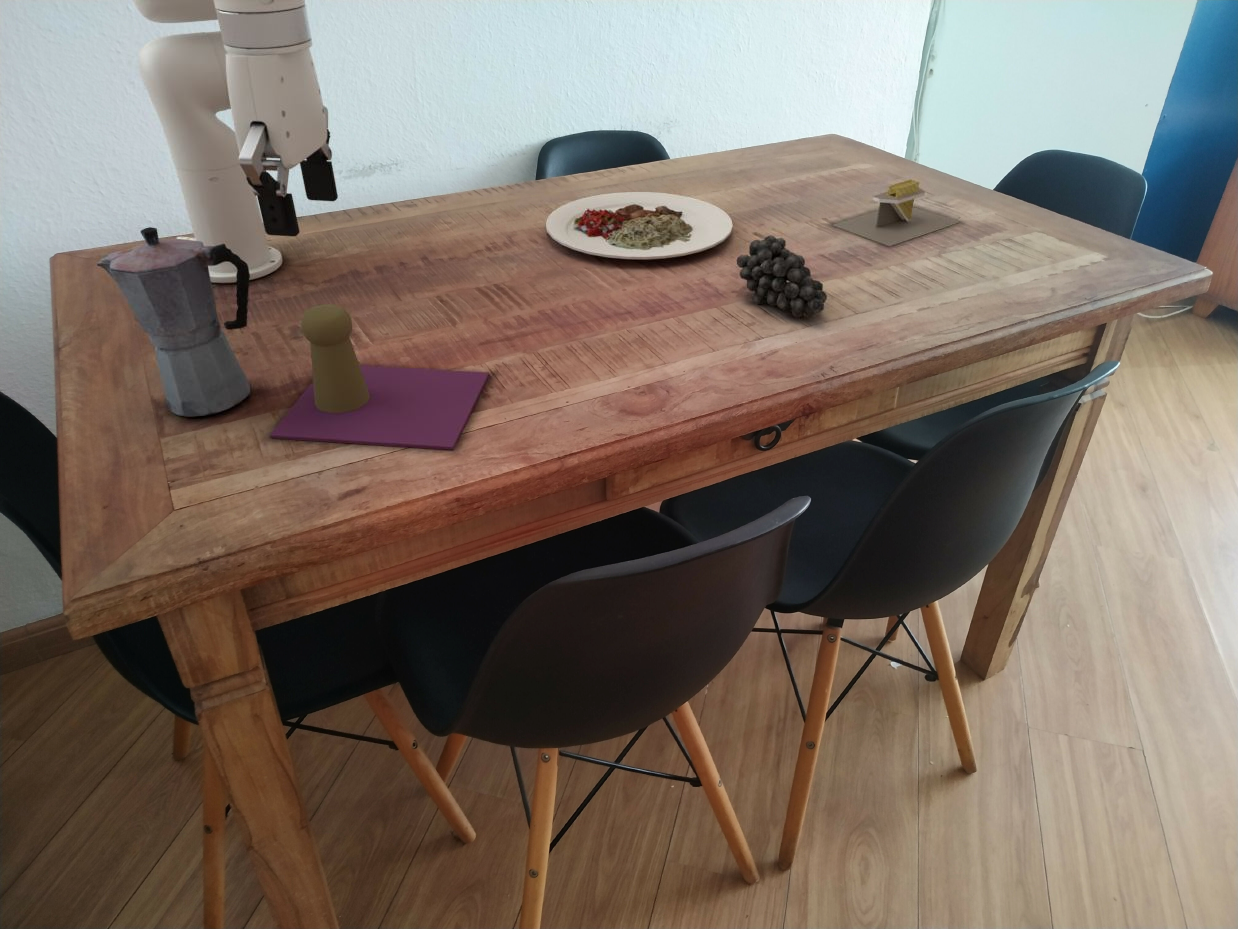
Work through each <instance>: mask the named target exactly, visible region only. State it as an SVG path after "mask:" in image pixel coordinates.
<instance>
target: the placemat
mask: <svg viewBox="0 0 1238 929" xmlns="http://www.w3.org/2000/svg"><path fill="white" fill-rule="evenodd" d="M359 365H360V368H361V371H362V374H363V377H364V380H365V382H366V385H367V388H368V391H369V395H370V398H369V400H368V402H367V403H365V404H364V405H363V406H362V407H360V408H358V409H355V410H352V411H349V412H343V413H328V412H324V411H321V410H319V409H318V408H317V407H316V406H315V398H314V384H313V381H311V383H310V384H309V385H308V387H307V388H306V389H305V390H304V391H303V393H302V394H301V396H299V398H298V399H297V400H296V402H294V404H293V405H292V406H291V408H290V409H289V410H288V411H287V412H286V414H285V415H284V416H283V418H282V419H281V420H280V422H278V424H277V425H276V426H275V428H274V429H273V430H272V431H271V433H270V434H269V438H270V439H278V440H294V441H306V442H307V441H309V442H323V443H339V444H355V445H356V444H357V445H369V446H387V447H400V448H401V447H402V448H418V449H433V450H446V451H454V449H455V447H456V445H457V444H458V441H459V439H460V437H461V436H462V433H463V431H464V429H465V426H466V424H467V422H468V421H469V418H470V416H471V414H472V412H473V410H474V408H475V406H476V404H477V402H478V400H479V398H480V396H481V393H482V392H483V390H484V388H485V385H486V384H487V381H488V379H489V377H490V372H485V371H484V372H483V371H469V370H468V371H466V370H451V369H450V370H449V369H434V368H433V369H430V368H413V367H395V366H379V365H378V366H376V365H361V364H359Z"/></svg>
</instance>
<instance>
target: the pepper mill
mask: <svg viewBox="0 0 1238 929" xmlns="http://www.w3.org/2000/svg"><path fill="white" fill-rule="evenodd" d="M300 323H301V325H300V328H301V331H302V334H303V336H304V337H305V339H306V340H307V341H308V342H309V344H310V356H311V368H312V369H311V370H312V382H313V384H314V398H315V406H316V407H317V408H318V409H319V410H321V411H324V412H328V413H343V412H349V411H352V410H355V409H358V408H360V407H362V406H363V405H364V404H365V403H367V402H368V400H369V398H370V395H369V391H368V388H367V385H366V382H365V380H364V377H363V374H362V371H361V368H360V365H361V364H360V363H359V359H358V357H357V354H356V351H355V348H354V345H353V343H352V340H351V337H350V335H351V334H352V332H353V331H352V330H353V321H352V317H351V315H350V313H349V312H348V311H347V309H345V308H344V307H343V306H340V305H337V304H329V303H328V304H327V303H326V304H320V305H316V306H313V307H310V308H309V309H308V310H306V311H305V312H304V313H303V315H302V317H301V321H300Z"/></svg>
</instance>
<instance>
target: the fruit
mask: <svg viewBox="0 0 1238 929" xmlns="http://www.w3.org/2000/svg"><path fill="white" fill-rule="evenodd" d="M786 246H787V243H786V239H784V238H782V237H779V238H776V237H775V235H767V236H766V237H764V239H762V240H760V239H755V240H753V241H751V242H750V243H749V249H748V251H749V252H748V254H740V255H739V256H738V257H736V265H737V266H738V267H739V268H741V270H740V271H739V277H740V279H742V280H745V281H746V288H747V289H748V290H749V291H750V292H753V294H752V296H751V297H752V301H753V303H756V304H757V305H761V304H764V303H765V302H766V303H767V304H768V305H769V306H777V307H778V308H779V309H780V310H787V309H789V308H790V310H791V313H792V316H793V317H795V318H797V319H798V318H799V319H800V318H802V317H803V316H804V317H805V318H806V319H812V318H814V317H816V316H817V315H818V314H820V313H822V312H823V311H824V310H825V303H826V301H827V298H828V295H827V293H826V292H825V291H824V284H823V283H822V282H820V280H816V279H813V278H812V274H811V270H810V268H808V267H807V266H805V265H806V260H805V258H804V257H803V255H800V254H796V253H795V252H793V251H791V250H789V249H787V248H786Z"/></svg>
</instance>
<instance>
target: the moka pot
mask: <svg viewBox="0 0 1238 929" xmlns="http://www.w3.org/2000/svg"><path fill="white" fill-rule="evenodd" d="M140 234H141V235H142V237H143V239H144V241H145V242H144V243H140V244H137V245H135V246H133V247H130V248H127V249H125V250H117V251H115V252H112V253H108V254H106V256H104V257H103V258H101V259H100V260H99V261H97V263H96V266H97V267H100V268H102V269H104V270H105V271H106V273H107V274H109V276H110V277H111V278H112V279H113V281H115V282H116V284H117V285H118V288H119V289H120V291H121V293H122V295H123V296H124V299H125V300H126V302H127V304H128V306H129V308H130V309H131V311H132V313H133V315H134V317H135V319H136V320H137V322H138V324H139V326H140V327H141V329H142V331H143V332H144V333H146V334H148V335H147V336H148V338H149V340H150V343H151V345H153V346H154V353H155V359H156V363H157V366H158V370H159V375H160V378H161V384H162V386H163V390H164V391H163V392H164V395H165V399H166V400H165V401H166V404H167V407H168V410H169V411H171V412H172V413H173V414H175V415H177V416H180V417H185V418H194V417H205V416H210V415H214V414H218V413H221V412H223V411H226V410H229V409H231V408H233V407H235V406H236V405H238V404H240V403H241V402H242V401H243V400H245V399H246V398H247V397H248V396H250V394H251V385H250V382H249V380H248V378H247V376H246V374H245V372H244V370H243V368H242V366H241V364H240V362H239V360H238V359H237V356H236V354H235V352H234V350H233V348H232V347H231V344H230V342H229V341H228V339H227V336H226V335H225V332H224V331H223V329H222V326H221V323H220V319H219V317H218V311H217V310H218V309H217V303H216V299H215V294H214V289H213V285H212V282H211V279H210V274H209V269H208V266H215V265H218V264H220V263H222V262H231V263H232V264H233V265H235V267H236V268H237V274H236V277H237V281H236V282H235V283H236V290H235V291H236V293H235V297H236V306H237V308H236V313H235V320H225V322H223V326H224V329H225V330H227V331H232V330H238V329H242V328H243V329H244V328H245V327H248V312H249V309H248V304H249V289H250V288H249V287H250V280H249V278H250V274H249V269H248V265H247V263H246V262H245V261H243V260H241V259H240V257H239V256H238V255H236V254H234V253H233V252H231V250H230V249H228V248H226V245H225V244H221V245H217V246H214V247H213V246H203V243H202V242H201V241H193V240H184V239H177V238H170V239H164V240H163V239H162V240H160V239H159V234H158V228H156V227H153V226H152V227H151V226H149V227H145V228H143V229H141V230H140Z"/></svg>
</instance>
